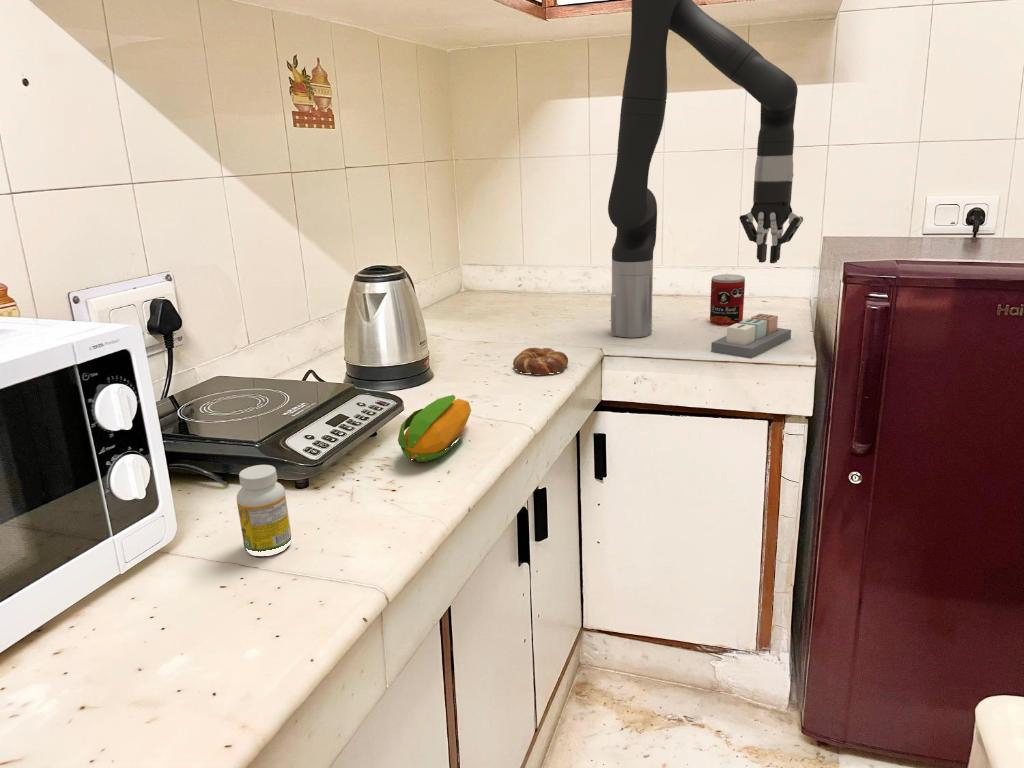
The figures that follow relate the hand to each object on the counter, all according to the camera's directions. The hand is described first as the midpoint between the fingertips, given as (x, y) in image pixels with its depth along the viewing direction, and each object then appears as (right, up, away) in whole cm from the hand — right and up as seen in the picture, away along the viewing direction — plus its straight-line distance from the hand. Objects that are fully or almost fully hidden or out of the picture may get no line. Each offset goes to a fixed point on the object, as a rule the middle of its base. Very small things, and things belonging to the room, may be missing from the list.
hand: (768, 262), depth 163 cm
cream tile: (-7, -17, -3) cm, 19 cm away
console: (-3, -18, +1) cm, 18 cm away
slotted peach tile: (+1, -15, +5) cm, 15 cm away
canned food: (-3, -11, +22) cm, 25 cm away
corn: (-66, -36, -46) cm, 88 cm away
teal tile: (-3, -16, +1) cm, 16 cm away
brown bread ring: (-49, -23, -9) cm, 55 cm away
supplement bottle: (-83, -45, -74) cm, 120 cm away
